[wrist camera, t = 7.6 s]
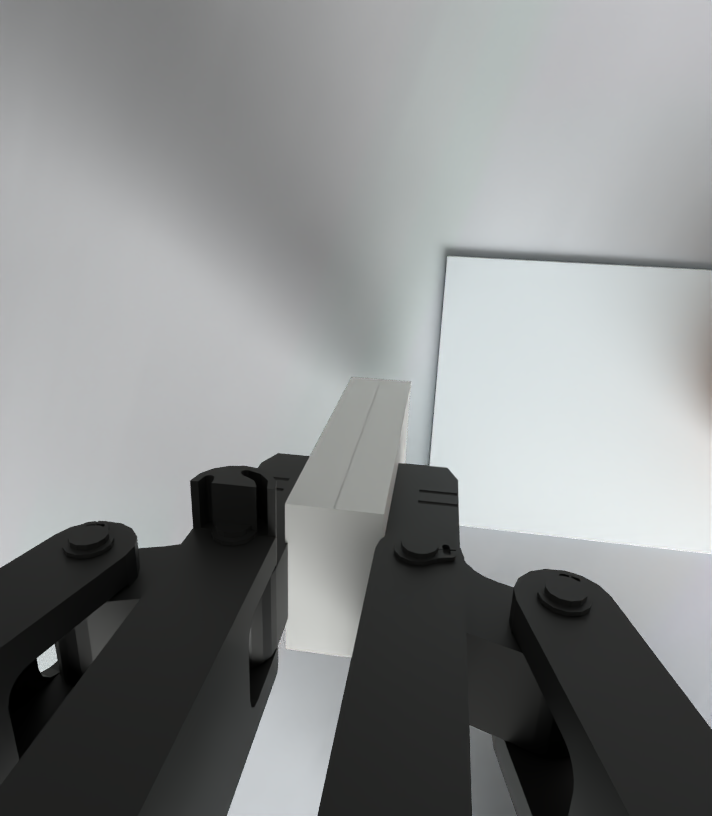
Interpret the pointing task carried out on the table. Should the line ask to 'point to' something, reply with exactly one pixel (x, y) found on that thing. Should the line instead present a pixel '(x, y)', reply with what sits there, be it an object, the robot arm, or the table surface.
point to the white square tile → (578, 400)
